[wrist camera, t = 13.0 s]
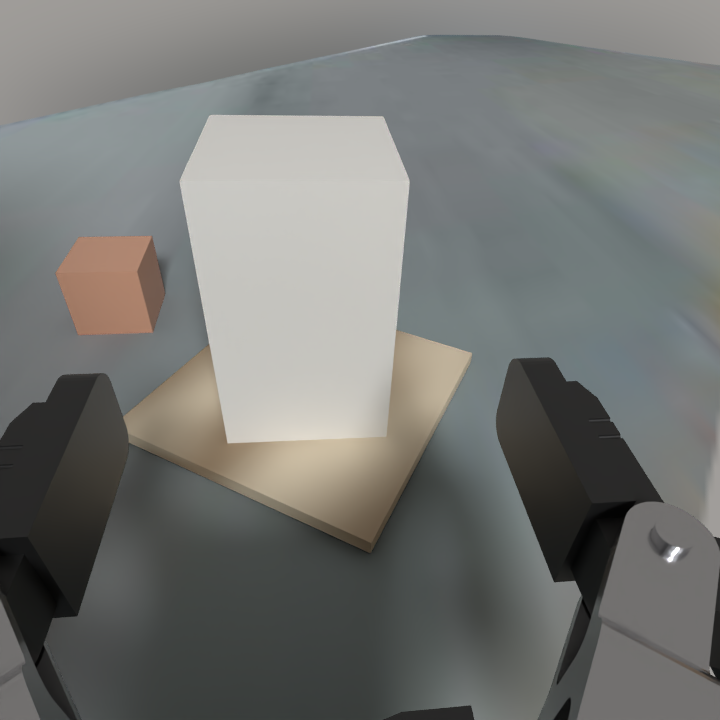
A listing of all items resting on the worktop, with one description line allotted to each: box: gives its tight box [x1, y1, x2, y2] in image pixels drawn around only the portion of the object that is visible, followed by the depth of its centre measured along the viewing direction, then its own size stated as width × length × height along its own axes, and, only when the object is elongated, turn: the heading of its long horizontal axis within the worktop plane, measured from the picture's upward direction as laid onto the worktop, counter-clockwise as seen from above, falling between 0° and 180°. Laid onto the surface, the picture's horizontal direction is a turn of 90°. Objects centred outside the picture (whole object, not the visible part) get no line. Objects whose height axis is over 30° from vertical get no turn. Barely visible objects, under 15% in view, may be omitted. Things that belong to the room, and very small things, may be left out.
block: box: [56, 236, 165, 335], centre depth 27 cm, size 4×4×4 cm
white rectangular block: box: [180, 115, 410, 443], centre depth 20 cm, size 6×6×10 cm
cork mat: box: [123, 330, 472, 553], centre depth 23 cm, size 11×11×1 cm
